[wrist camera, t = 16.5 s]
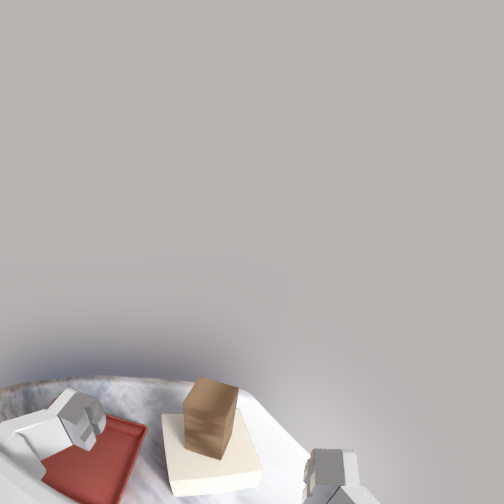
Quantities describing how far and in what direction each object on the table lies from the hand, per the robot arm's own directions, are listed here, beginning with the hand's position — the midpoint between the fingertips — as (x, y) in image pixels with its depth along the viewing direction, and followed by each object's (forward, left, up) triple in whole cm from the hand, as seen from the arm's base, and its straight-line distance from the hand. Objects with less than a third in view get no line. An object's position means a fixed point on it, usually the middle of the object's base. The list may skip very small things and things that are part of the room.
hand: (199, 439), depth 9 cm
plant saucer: (-22, +10, -33) cm, 41 cm away
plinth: (-4, +18, -32) cm, 37 cm away
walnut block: (-4, +18, -26) cm, 32 cm away
